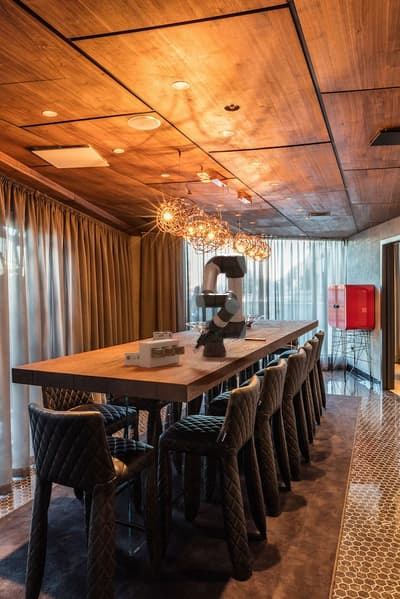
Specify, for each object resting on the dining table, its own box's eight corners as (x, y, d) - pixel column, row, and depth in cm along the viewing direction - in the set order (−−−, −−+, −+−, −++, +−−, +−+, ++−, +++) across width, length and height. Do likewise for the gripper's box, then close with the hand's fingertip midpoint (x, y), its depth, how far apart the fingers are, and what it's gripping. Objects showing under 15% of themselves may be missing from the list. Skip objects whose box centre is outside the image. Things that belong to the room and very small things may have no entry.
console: (169, 360, 272) (169, 338, 271) (179, 362, 267) (179, 339, 266) (139, 366, 253) (139, 342, 253) (149, 367, 248) (149, 343, 248)
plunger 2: (172, 352, 267) (172, 345, 267) (184, 354, 262) (184, 346, 261) (167, 353, 264) (167, 345, 264) (179, 354, 258) (179, 347, 258)
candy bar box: (172, 358, 280) (172, 331, 280) (170, 360, 275) (170, 332, 275) (155, 358, 283) (155, 331, 282) (152, 359, 278) (152, 332, 278)
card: (143, 364, 259) (143, 352, 259) (143, 364, 257) (143, 352, 257) (125, 365, 257) (124, 352, 257) (125, 365, 256) (124, 352, 256)
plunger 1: (153, 355, 255) (153, 347, 255) (164, 357, 249) (164, 349, 249) (147, 356, 251) (147, 348, 251) (159, 358, 246) (159, 350, 246)
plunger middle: (163, 354, 261) (163, 346, 261) (174, 355, 255) (174, 347, 255) (157, 355, 258) (157, 347, 258) (169, 356, 252) (169, 348, 252)
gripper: (215, 328, 237) (190, 358, 247) (229, 327, 247) (205, 355, 257) (206, 318, 240) (182, 347, 251) (221, 316, 250) (198, 345, 261)
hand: (194, 351), depth 254 cm, fingers closed
